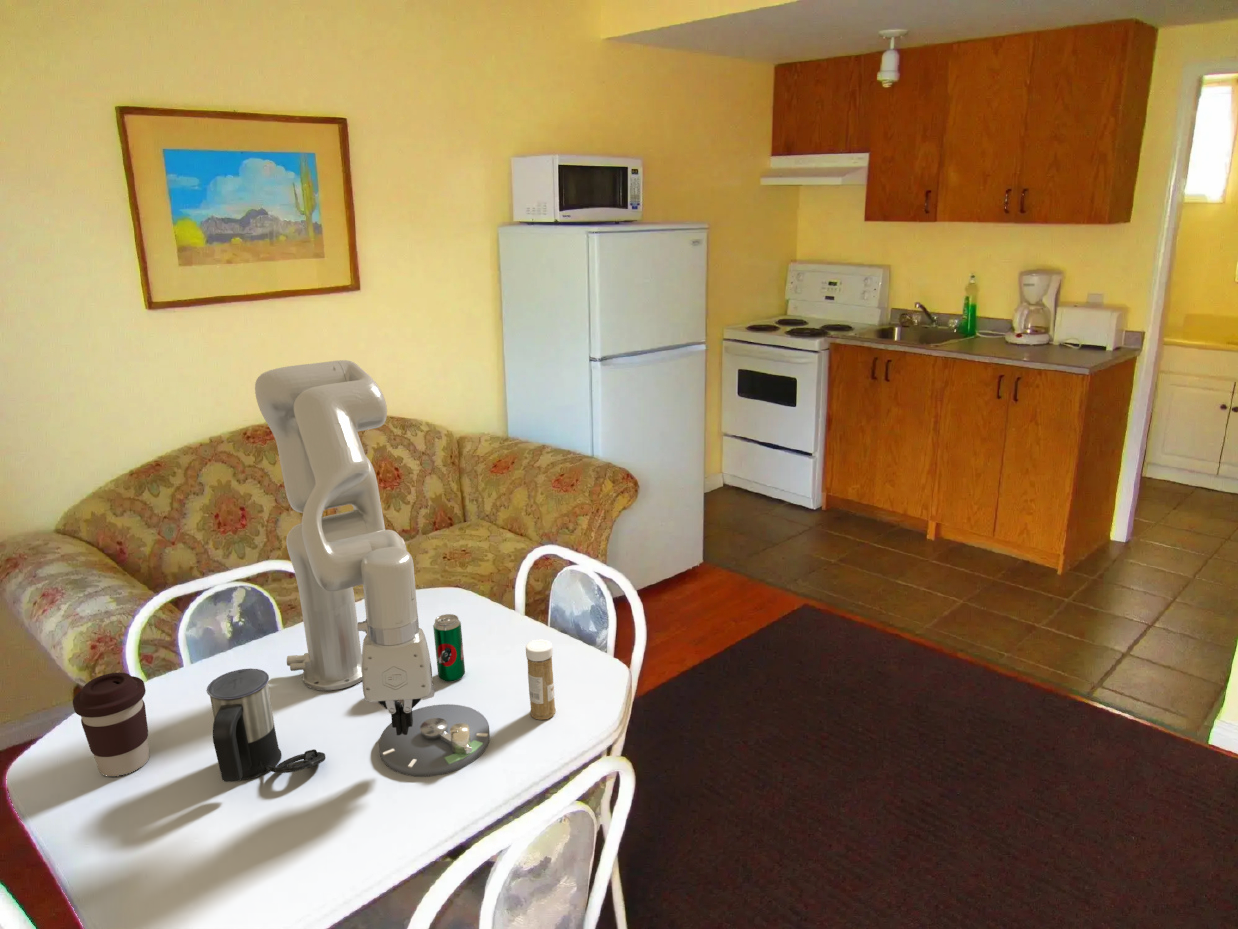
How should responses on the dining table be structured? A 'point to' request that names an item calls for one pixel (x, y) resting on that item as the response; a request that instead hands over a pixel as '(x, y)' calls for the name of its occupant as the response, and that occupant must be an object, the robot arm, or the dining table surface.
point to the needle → (458, 732)
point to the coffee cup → (115, 722)
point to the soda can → (449, 648)
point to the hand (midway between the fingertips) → (403, 729)
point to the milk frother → (248, 728)
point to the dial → (433, 742)
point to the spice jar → (540, 679)
